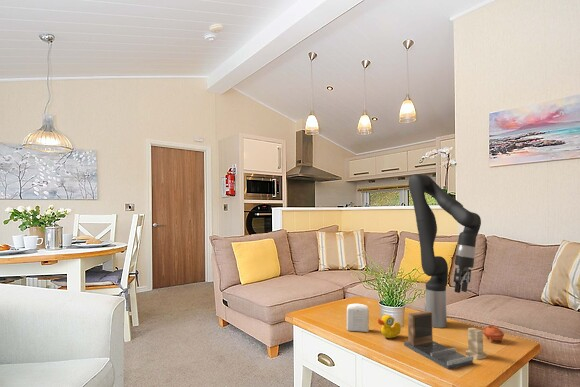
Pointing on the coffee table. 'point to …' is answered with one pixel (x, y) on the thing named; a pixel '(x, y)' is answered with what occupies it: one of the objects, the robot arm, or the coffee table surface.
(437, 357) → the grey stepped base
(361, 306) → the photo printer
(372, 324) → the coffee table surface
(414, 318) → the dark brown block
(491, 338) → the pot
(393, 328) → the duckling
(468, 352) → the beige pedestal column
